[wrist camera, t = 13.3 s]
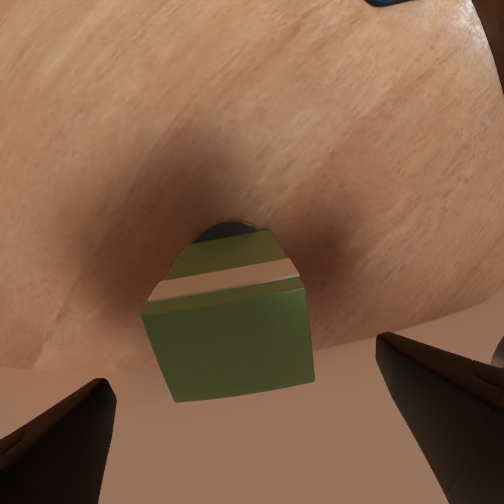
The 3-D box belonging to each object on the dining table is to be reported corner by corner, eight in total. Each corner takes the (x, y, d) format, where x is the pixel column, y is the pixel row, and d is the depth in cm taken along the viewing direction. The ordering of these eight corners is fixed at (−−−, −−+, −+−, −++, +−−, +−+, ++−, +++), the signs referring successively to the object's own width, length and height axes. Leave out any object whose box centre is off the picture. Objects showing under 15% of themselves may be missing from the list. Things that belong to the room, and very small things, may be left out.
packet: (301, 391, 17) (326, 372, 8) (212, 405, 17) (145, 398, 8) (271, 251, 22) (264, 142, 13) (196, 265, 21) (146, 167, 13)
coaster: (289, 288, 21) (290, 291, 20) (208, 316, 21) (208, 320, 20) (260, 206, 19) (261, 207, 19) (174, 238, 20) (172, 240, 19)
